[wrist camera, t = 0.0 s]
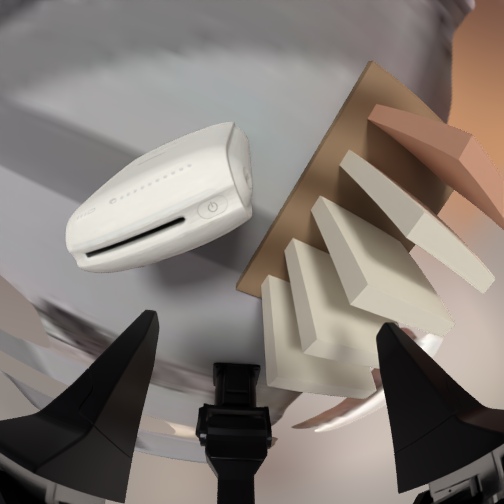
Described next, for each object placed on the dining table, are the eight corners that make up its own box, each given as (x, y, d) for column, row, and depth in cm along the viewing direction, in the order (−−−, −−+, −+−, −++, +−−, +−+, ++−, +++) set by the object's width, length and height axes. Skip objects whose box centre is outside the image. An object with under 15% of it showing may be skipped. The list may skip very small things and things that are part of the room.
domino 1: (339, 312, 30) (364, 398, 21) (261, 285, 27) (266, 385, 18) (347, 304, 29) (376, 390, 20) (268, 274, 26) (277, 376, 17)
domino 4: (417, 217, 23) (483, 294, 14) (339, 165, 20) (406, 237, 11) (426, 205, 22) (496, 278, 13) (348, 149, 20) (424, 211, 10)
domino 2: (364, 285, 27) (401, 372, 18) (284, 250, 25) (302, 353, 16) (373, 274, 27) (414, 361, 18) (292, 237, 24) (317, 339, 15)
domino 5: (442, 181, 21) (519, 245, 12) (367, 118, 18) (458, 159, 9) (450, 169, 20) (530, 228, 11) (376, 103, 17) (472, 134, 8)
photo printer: (240, 112, 19) (229, 146, 9) (257, 162, 21) (268, 250, 11) (124, 161, 21) (35, 238, 10) (145, 203, 23) (81, 302, 13)
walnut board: (343, 320, 32) (344, 325, 31) (236, 284, 28) (235, 289, 27) (469, 154, 20) (473, 157, 19) (368, 61, 16) (373, 60, 15)
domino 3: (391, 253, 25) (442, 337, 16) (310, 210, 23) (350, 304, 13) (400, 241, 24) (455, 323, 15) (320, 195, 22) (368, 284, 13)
